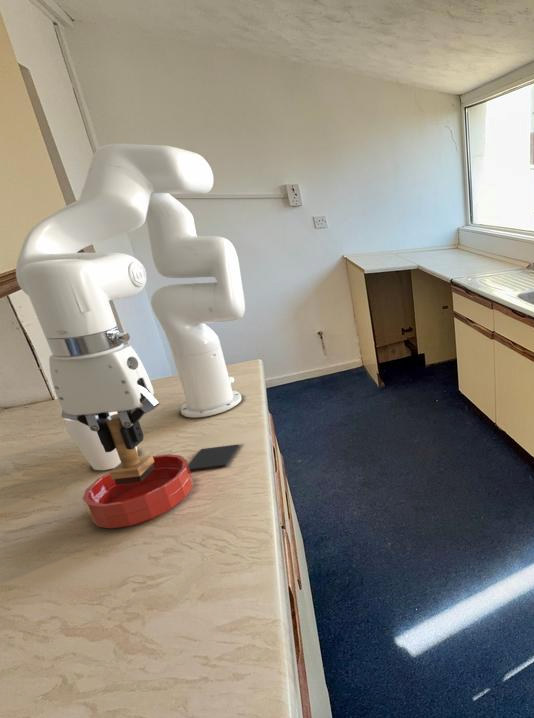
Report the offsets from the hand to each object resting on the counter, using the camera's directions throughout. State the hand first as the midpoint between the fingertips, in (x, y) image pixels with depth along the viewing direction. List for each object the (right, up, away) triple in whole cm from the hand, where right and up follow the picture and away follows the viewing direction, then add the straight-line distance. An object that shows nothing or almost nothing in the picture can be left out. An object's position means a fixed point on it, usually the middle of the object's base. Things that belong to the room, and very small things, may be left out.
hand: (125, 445), depth 66 cm
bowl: (0, -11, +4) cm, 12 cm away
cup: (-16, -7, +15) cm, 23 cm away
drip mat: (+3, -7, +15) cm, 17 cm away
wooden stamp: (0, -6, +2) cm, 6 cm away
